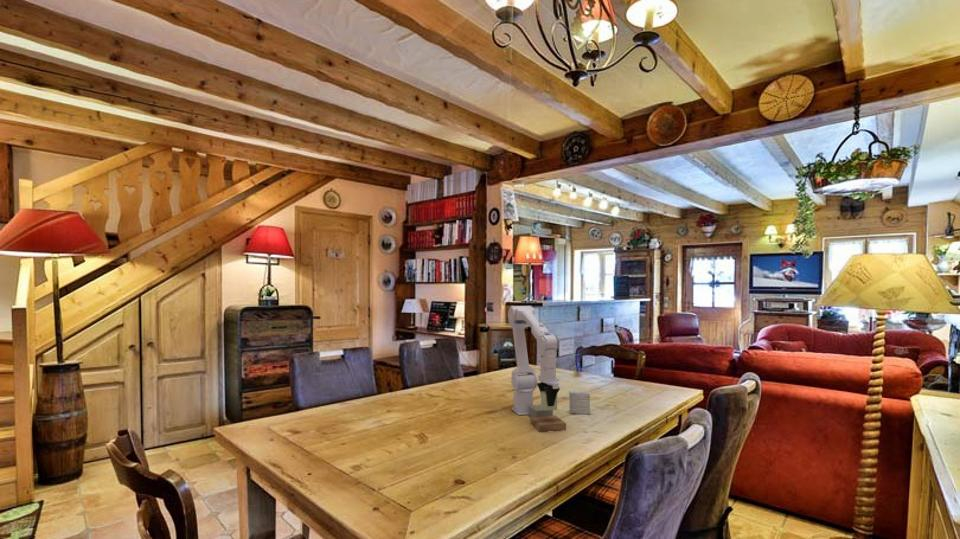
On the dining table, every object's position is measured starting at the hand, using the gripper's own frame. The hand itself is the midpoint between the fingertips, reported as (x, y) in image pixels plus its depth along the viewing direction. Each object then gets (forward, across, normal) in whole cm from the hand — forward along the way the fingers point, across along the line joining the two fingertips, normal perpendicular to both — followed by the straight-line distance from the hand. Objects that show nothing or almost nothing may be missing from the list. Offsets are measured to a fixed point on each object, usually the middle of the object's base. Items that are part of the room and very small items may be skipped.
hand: (548, 404), depth 163 cm
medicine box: (+9, +14, -20) cm, 26 cm away
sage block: (+2, 0, 0) cm, 2 cm away
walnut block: (+9, 0, 0) cm, 9 cm away
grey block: (+9, +12, -2) cm, 15 cm away
